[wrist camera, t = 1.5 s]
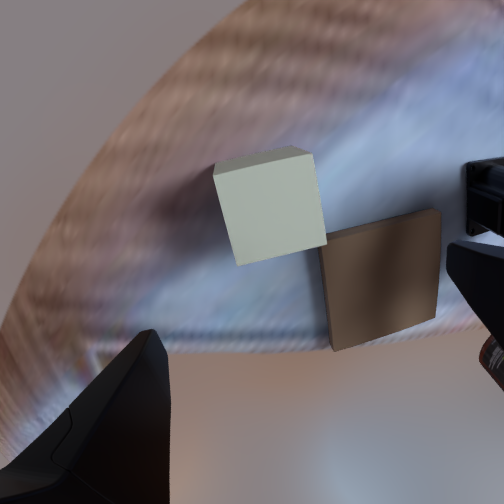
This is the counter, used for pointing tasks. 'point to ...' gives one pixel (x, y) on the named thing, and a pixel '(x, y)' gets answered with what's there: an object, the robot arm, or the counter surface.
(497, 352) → the supplement bottle
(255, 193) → the cube
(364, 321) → the brown square tile
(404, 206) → the counter surface
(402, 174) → the counter surface
